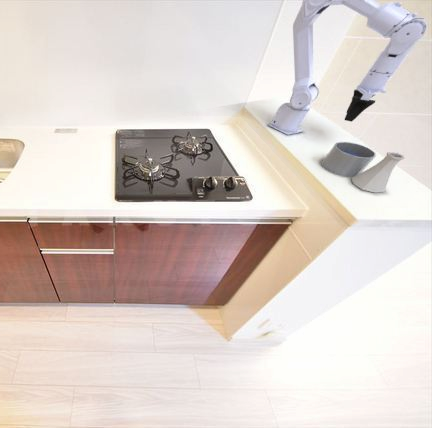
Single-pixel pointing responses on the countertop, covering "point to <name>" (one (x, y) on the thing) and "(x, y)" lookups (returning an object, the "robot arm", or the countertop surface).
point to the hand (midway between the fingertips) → (349, 117)
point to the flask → (378, 174)
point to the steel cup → (348, 159)
